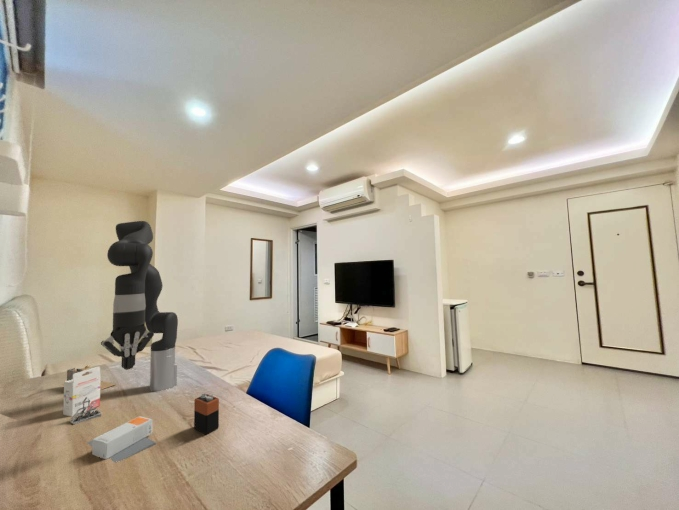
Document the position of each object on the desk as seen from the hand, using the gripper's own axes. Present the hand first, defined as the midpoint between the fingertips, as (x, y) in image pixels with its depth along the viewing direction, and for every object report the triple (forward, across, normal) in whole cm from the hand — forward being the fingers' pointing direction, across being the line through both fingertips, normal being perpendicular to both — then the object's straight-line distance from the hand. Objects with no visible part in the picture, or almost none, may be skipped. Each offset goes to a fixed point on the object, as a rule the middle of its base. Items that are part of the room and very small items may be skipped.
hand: (128, 368), depth 77 cm
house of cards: (+21, -1, -30) cm, 37 cm away
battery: (+21, -15, +15) cm, 30 cm away
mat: (+21, +3, 0) cm, 21 cm away
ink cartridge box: (+21, -2, -37) cm, 42 cm away
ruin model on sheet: (+22, -9, -67) cm, 71 cm away
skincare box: (+18, -5, 0) cm, 19 cm away
